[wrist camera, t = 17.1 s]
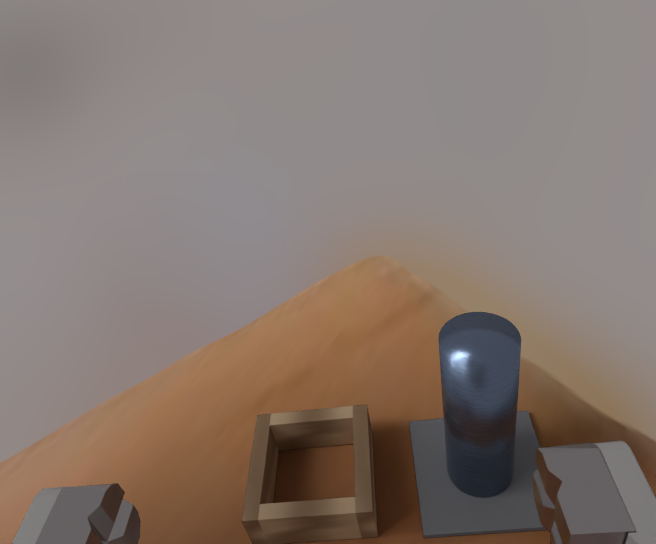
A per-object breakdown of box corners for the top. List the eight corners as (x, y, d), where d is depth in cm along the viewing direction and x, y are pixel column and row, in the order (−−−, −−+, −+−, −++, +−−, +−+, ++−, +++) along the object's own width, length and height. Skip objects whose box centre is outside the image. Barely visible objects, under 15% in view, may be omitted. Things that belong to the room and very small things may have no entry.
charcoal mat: (423, 538, 39) (423, 535, 39) (409, 424, 47) (408, 421, 47) (567, 528, 38) (567, 525, 38) (527, 413, 46) (527, 410, 46)
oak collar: (253, 545, 41) (241, 521, 39) (266, 440, 48) (257, 414, 46) (378, 537, 40) (372, 511, 38) (371, 430, 47) (366, 404, 45)
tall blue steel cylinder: (452, 500, 41) (445, 371, 33) (442, 443, 45) (433, 316, 37) (520, 495, 40) (530, 362, 32) (504, 438, 44) (509, 308, 36)
